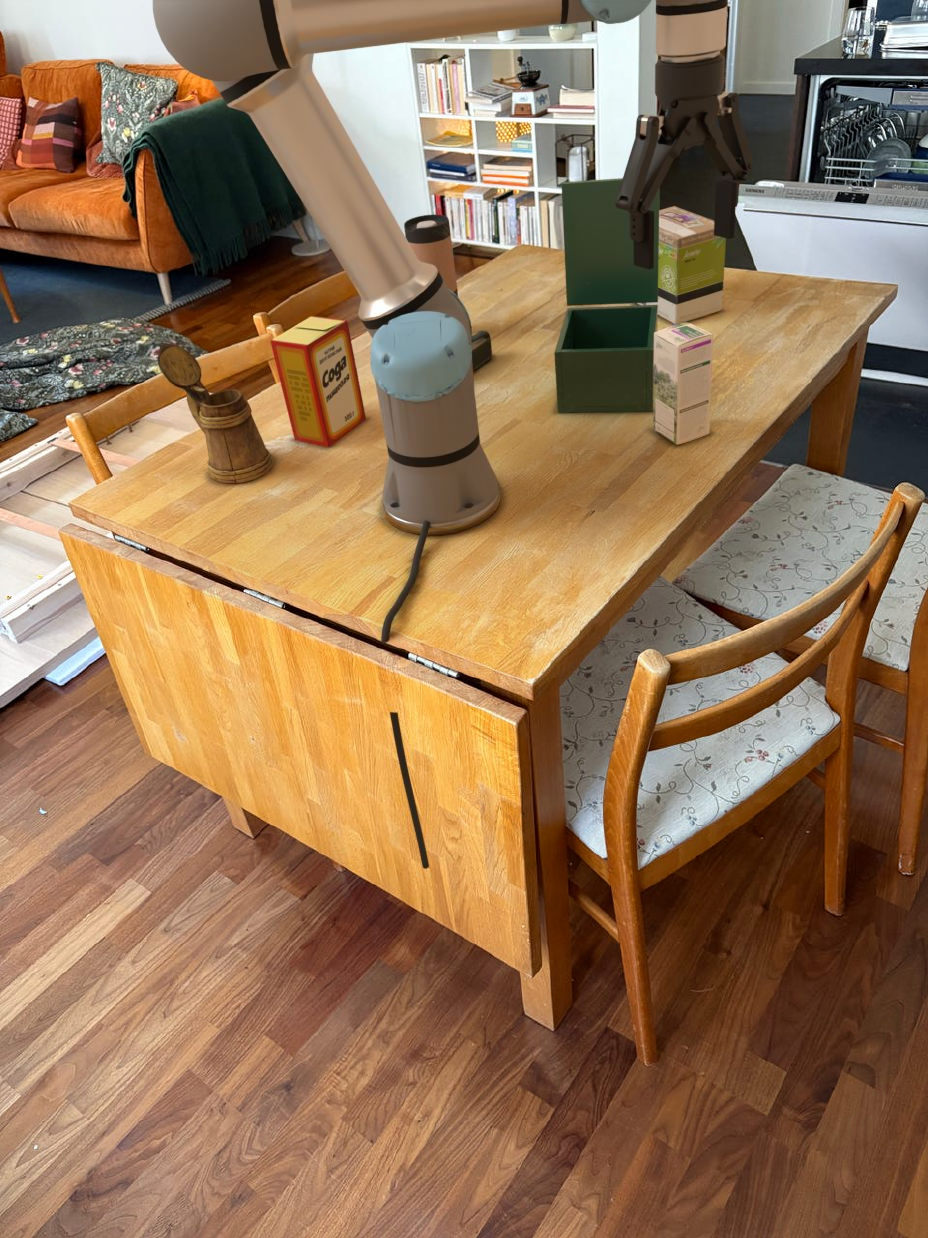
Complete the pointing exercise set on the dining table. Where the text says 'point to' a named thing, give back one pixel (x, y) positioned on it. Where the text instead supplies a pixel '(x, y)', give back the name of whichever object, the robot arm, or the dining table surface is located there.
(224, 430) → the wooden mug
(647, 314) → the tin
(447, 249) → the travel mug
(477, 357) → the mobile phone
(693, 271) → the tea box
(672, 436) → the syrup box
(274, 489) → the dining table surface
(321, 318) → the baking soda box
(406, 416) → the robot arm
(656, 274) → the lid
